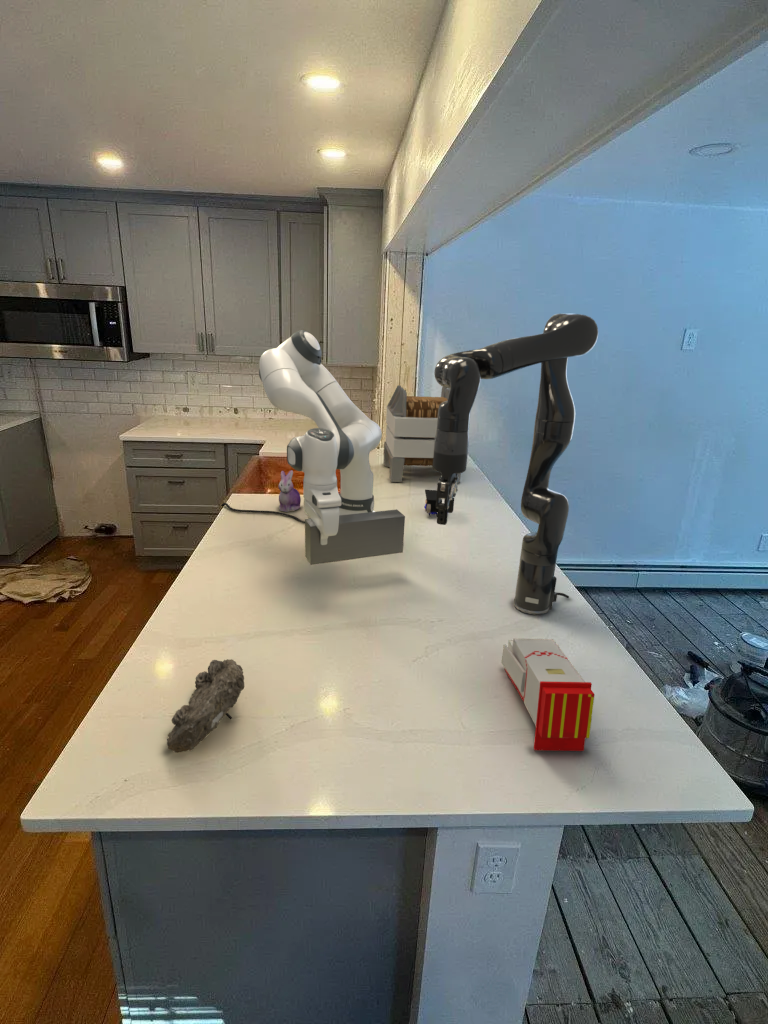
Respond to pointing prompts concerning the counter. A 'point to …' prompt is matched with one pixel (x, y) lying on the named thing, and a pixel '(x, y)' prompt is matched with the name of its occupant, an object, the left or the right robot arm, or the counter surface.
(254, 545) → the counter surface
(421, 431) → the stacked crate on legs
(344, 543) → the box
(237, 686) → the fossil
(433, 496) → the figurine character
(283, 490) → the figurine
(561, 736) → the toy
